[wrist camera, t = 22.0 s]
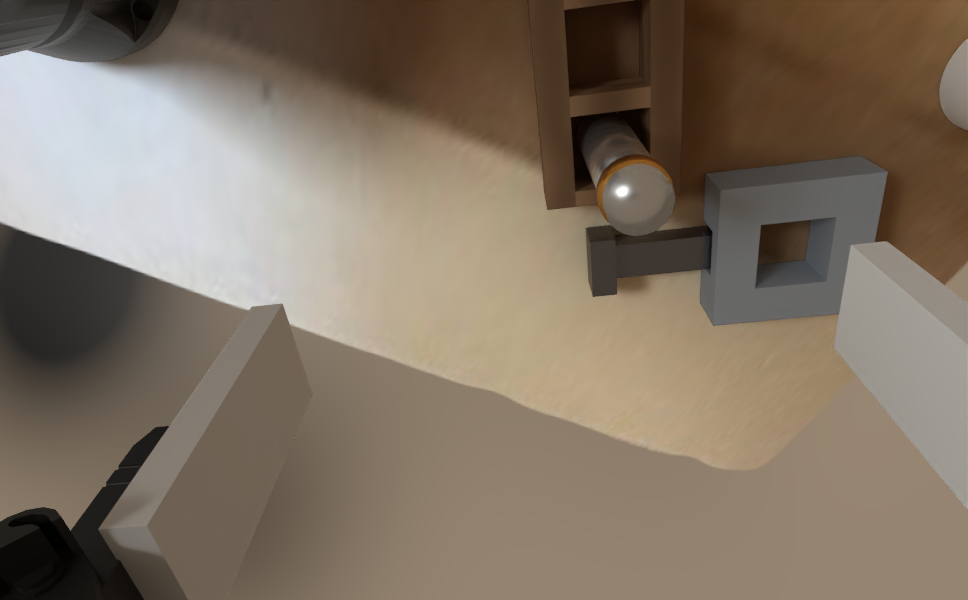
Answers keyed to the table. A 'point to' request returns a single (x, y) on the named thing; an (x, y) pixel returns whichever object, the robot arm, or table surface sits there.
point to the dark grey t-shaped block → (643, 254)
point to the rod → (625, 175)
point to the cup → (956, 87)
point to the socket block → (778, 199)
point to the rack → (607, 93)
